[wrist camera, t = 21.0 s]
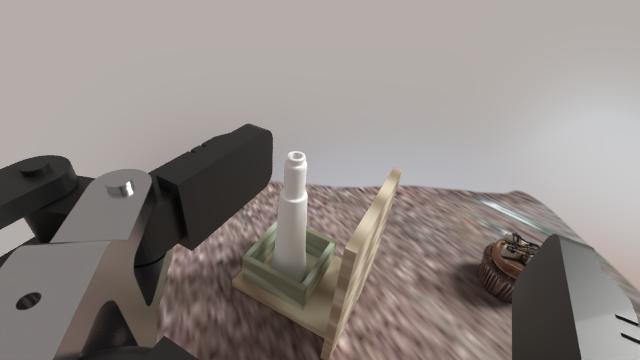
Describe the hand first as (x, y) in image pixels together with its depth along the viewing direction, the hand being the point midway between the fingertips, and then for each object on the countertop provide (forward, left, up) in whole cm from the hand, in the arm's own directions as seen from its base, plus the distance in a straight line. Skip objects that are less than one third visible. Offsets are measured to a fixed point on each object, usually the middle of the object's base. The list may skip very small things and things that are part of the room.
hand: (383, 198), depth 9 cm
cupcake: (-41, -15, -38) cm, 58 cm away
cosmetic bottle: (-4, -25, -37) cm, 44 cm away
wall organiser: (-6, -22, -38) cm, 44 cm away
